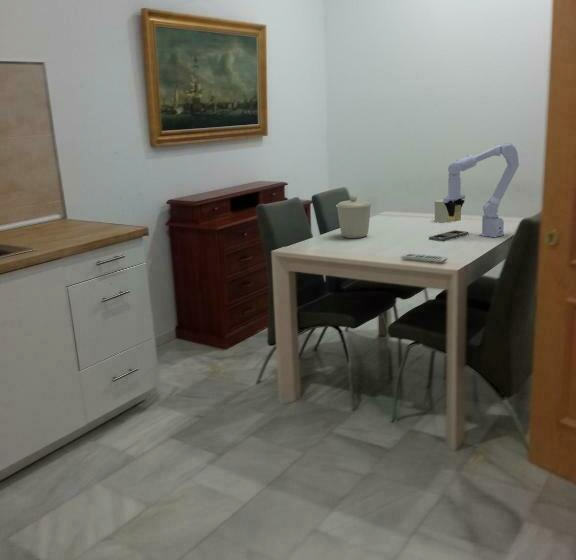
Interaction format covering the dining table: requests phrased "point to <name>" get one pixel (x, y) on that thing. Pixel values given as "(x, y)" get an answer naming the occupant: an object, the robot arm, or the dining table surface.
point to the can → (441, 212)
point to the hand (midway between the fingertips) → (454, 215)
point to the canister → (354, 217)
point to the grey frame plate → (448, 235)
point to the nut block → (456, 214)
